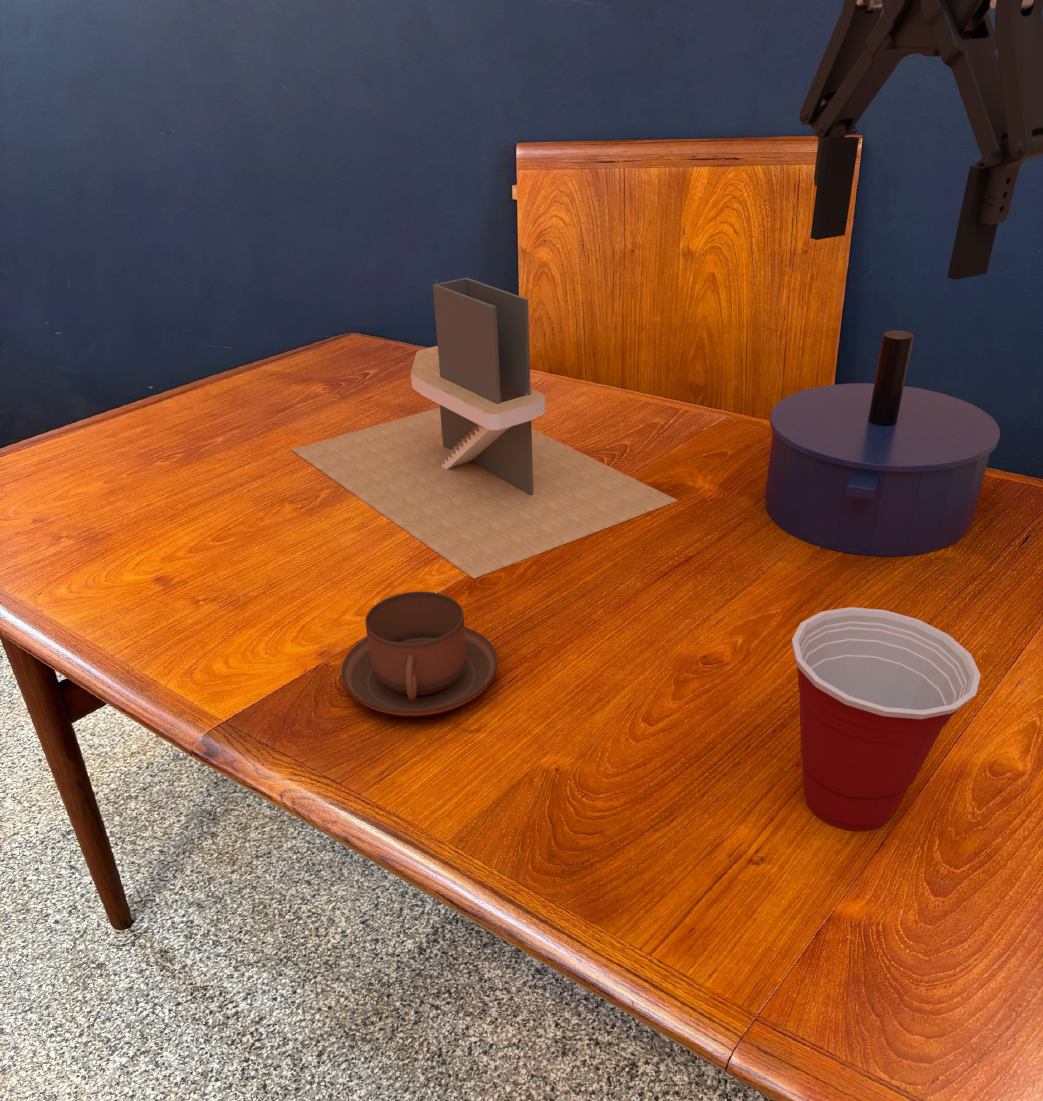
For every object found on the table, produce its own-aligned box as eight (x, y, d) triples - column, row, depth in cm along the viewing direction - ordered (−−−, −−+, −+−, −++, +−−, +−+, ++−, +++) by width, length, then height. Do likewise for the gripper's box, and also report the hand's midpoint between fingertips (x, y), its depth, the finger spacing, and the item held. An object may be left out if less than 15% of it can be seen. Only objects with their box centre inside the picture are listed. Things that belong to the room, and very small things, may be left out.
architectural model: (290, 449, 117) (258, 270, 105) (471, 398, 129) (460, 232, 117) (473, 578, 92) (459, 362, 80) (678, 500, 103) (691, 301, 91)
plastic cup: (943, 875, 61) (992, 719, 54) (761, 844, 63) (785, 691, 56) (935, 762, 69) (977, 614, 62) (775, 739, 72) (797, 594, 65)
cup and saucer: (519, 709, 76) (516, 641, 72) (362, 746, 73) (351, 677, 69) (472, 629, 85) (468, 564, 81) (331, 659, 82) (320, 593, 78)
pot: (978, 472, 106) (998, 393, 101) (962, 585, 88) (985, 496, 83) (790, 449, 113) (800, 373, 108) (739, 550, 94) (748, 464, 89)
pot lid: (1001, 407, 100) (1025, 311, 94) (991, 492, 85) (1020, 384, 79) (791, 385, 107) (803, 295, 101) (747, 461, 91) (758, 359, 86)
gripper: (771, -120, 66) (741, 229, 79) (1102, -157, 48) (993, 305, 61) (860, -121, 69) (817, 217, 81) (1206, -157, 50) (1080, 286, 63)
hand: (892, 255), depth 71 cm, fingers open, 13 cm apart
